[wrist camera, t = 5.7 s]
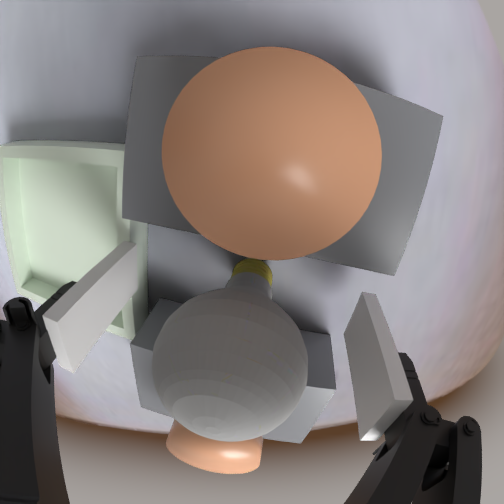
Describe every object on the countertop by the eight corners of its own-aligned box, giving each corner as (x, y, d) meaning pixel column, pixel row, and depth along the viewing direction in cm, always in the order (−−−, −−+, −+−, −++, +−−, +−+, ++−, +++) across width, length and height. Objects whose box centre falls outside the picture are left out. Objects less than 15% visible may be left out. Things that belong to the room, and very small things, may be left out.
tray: (33, 279, 20) (17, 293, 18) (18, 140, 15) (-4, 145, 13) (148, 321, 19) (135, 341, 17) (153, 146, 14) (132, 151, 12)
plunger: (190, 395, 19) (168, 460, 14) (193, 348, 16) (163, 423, 11) (261, 411, 18) (250, 479, 13) (277, 366, 16) (269, 448, 11)
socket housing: (162, 363, 21) (140, 407, 17) (180, 71, 12) (136, 56, 8) (302, 394, 20) (300, 443, 16) (400, 115, 12) (443, 116, 8)
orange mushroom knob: (209, 188, 12) (155, 237, 7) (228, 72, 10) (179, 38, 5) (325, 212, 12) (347, 278, 7) (352, 97, 10) (401, 79, 5)
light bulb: (305, 308, 17) (305, 468, 8) (215, 310, 18) (160, 453, 9) (302, 220, 15) (311, 374, 6) (198, 226, 16) (97, 359, 7)
